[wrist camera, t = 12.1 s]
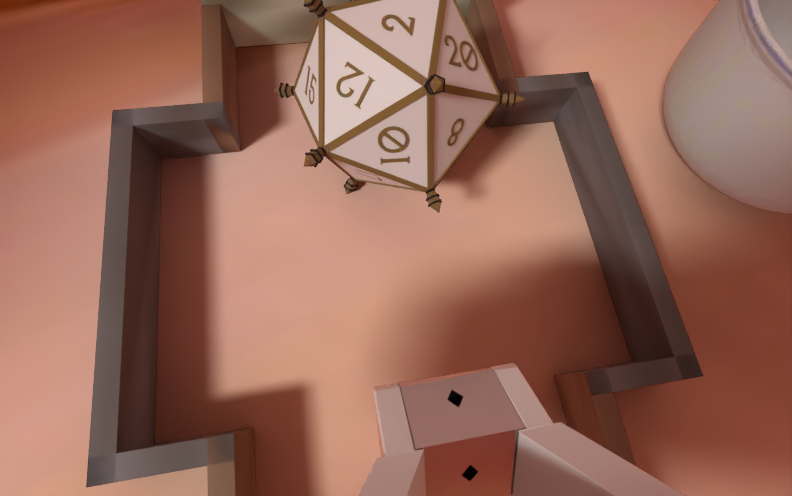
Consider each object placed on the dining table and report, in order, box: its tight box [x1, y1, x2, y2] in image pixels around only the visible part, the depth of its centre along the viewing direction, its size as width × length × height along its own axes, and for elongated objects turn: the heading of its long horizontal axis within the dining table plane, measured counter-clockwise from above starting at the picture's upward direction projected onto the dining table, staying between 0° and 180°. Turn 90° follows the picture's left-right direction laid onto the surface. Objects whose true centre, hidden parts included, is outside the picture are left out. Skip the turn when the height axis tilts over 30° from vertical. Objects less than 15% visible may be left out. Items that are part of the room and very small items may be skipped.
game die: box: [273, 0, 525, 212], centre depth 16 cm, size 9×8×10 cm
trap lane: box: [86, 0, 703, 496], centre depth 15 cm, size 21×32×4 cm, turn 9°
